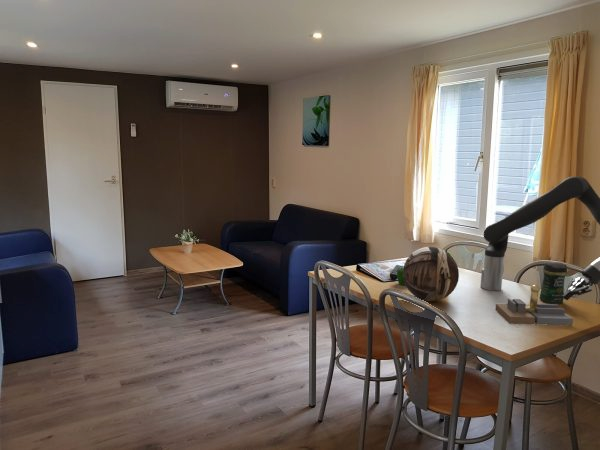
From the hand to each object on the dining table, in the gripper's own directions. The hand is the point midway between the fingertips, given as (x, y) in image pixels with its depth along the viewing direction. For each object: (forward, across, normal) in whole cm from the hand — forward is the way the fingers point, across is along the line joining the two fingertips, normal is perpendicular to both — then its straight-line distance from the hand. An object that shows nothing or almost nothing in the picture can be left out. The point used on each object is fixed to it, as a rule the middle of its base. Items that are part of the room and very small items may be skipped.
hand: (564, 298), depth 195 cm
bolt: (+15, 0, -6) cm, 16 cm away
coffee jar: (+2, -23, +11) cm, 26 cm away
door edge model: (+15, 0, -3) cm, 16 cm away
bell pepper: (+48, -44, -35) cm, 74 cm away
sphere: (+43, -19, -30) cm, 56 cm away
